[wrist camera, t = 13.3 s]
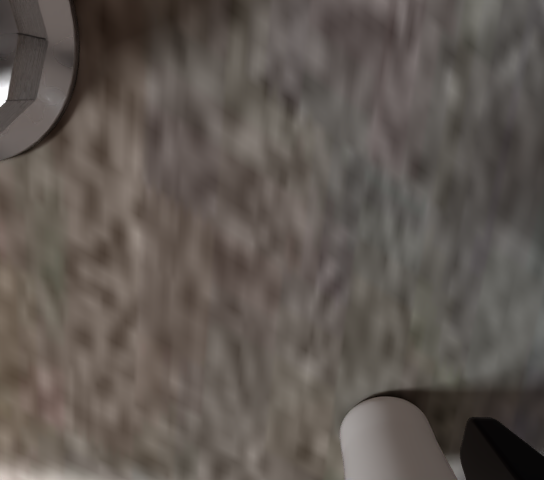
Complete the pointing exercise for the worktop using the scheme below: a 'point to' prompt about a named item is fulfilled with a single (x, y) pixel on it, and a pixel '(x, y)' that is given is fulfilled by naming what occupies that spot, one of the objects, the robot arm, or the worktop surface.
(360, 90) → the worktop surface
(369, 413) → the drinking glass
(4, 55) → the faceted metal ring
